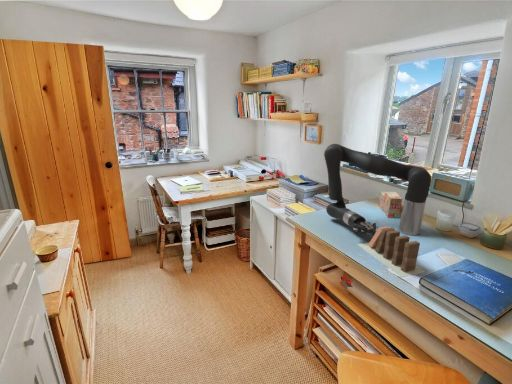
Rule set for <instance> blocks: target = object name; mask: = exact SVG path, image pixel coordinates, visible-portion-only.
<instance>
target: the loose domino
mask: <svg viewBox="0 0 512 384" xmlns="http://www.w3.org/2000/svg"><path fill="white" fill-rule="evenodd" d="M384 228H390V226H382V227H378V229H376V233H375V235H374V236H372V238H371V240H370V241H369V242H370V243H369V242H368V243H369V244H368V245H369V247H370V248H375V247H377V244H378V241H379V238H380V235H381V231H382V229H384Z"/></svg>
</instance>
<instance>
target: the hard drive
mask: <svg viewBox="0 0 512 384" xmlns="http://www.w3.org/2000/svg"><path fill="white" fill-rule="evenodd" d="M436 255H437V256H438V257H437V256H436ZM435 256H436V257H437V258H438V259H439V260H440V261H442V263H444V265H446V266H447V265H448V266H449V265H452V264H455V263H457V262H460V261H463V259H461V258H460V257H459V256H458V255H457V254H455V253H454V254H453V253H436V254H435ZM448 266H447V267H448Z"/></svg>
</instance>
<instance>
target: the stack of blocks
mask: <svg viewBox="0 0 512 384" xmlns="http://www.w3.org/2000/svg"><path fill="white" fill-rule="evenodd" d="M402 203H403V198H402V197H401V196H400V194H398V192H396V191H379V199H378V207H379V208H380V209H381V210H382V212H383V213H384V215H385V216H386V217H387V218H388V219H400V216H401V209H402Z"/></svg>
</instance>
